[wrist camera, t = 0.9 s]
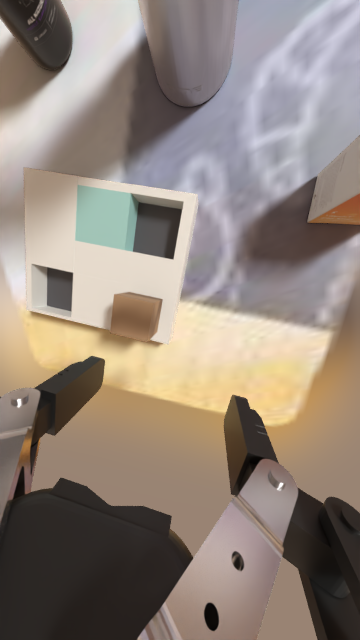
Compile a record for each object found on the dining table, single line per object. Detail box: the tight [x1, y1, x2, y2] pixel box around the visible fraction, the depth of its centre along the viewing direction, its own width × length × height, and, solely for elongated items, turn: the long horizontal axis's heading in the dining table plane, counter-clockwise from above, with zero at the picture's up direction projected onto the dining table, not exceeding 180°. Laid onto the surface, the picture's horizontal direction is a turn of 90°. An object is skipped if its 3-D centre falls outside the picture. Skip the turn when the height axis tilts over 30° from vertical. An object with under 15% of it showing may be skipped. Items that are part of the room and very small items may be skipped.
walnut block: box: [110, 292, 163, 342], centre depth 24 cm, size 5×5×4 cm
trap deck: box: [24, 168, 198, 344], centre depth 27 cm, size 20×24×3 cm
